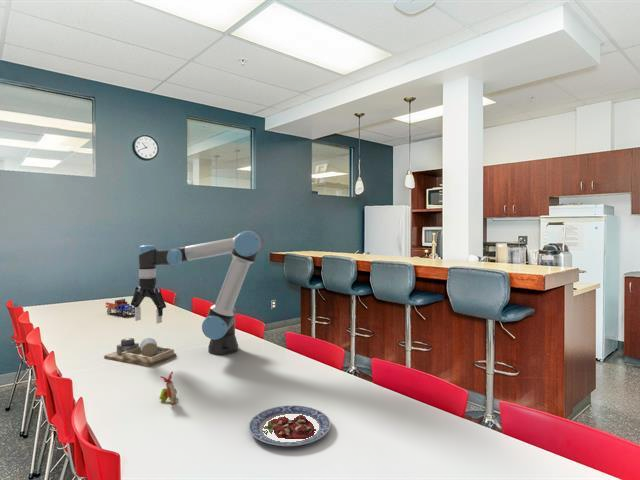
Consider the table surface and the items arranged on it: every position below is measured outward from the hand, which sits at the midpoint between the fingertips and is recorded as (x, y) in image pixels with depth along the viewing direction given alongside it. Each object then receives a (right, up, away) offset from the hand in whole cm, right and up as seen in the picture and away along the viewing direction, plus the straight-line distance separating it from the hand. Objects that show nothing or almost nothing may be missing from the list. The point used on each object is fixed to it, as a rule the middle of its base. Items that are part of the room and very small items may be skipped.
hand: (148, 321), depth 196 cm
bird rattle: (+28, -20, -47) cm, 58 cm away
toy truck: (-60, -15, +94) cm, 113 cm away
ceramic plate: (+73, -21, -66) cm, 101 cm away
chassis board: (-5, -18, +3) cm, 19 cm away
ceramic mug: (+1, -17, +2) cm, 17 cm away
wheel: (-13, -16, +6) cm, 21 cm away
